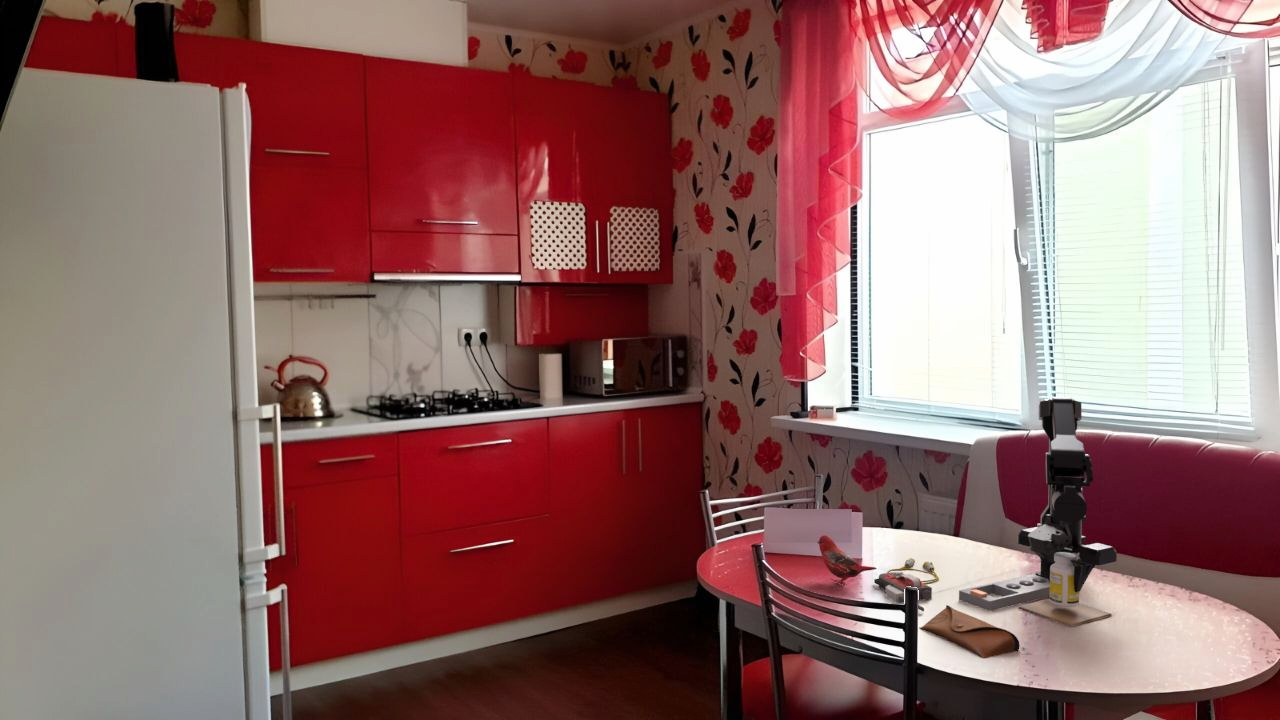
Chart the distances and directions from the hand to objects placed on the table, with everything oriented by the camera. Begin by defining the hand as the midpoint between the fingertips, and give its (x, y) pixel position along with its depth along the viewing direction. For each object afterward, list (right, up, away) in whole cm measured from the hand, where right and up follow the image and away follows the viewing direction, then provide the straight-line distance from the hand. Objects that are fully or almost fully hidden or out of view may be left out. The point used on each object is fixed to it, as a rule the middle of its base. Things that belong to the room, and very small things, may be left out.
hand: (1064, 587), depth 190 cm
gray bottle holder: (-7, -4, +10) cm, 13 cm away
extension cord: (-22, -4, +27) cm, 35 cm away
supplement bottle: (0, -3, 0) cm, 3 cm away
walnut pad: (0, -5, 0) cm, 5 cm away
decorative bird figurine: (-39, -4, +19) cm, 44 cm away
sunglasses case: (-24, -7, -13) cm, 28 cm away
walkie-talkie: (-28, -5, +11) cm, 30 cm away
